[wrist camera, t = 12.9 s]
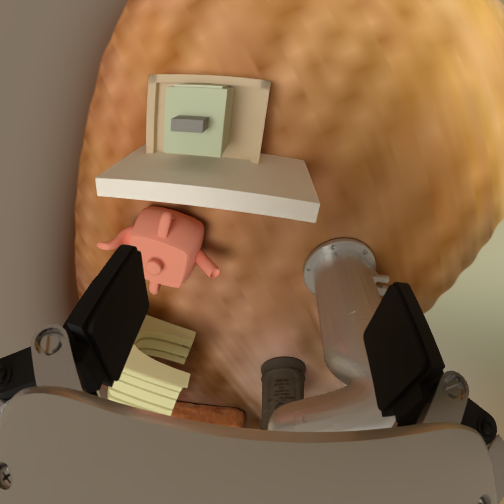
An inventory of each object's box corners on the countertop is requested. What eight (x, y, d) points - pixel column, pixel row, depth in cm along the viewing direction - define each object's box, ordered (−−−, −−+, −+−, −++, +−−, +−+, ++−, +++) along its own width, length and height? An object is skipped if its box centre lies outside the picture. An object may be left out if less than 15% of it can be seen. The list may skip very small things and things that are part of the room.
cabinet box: (235, 85, 28) (223, 87, 21) (228, 144, 32) (216, 164, 25) (184, 83, 28) (157, 85, 21) (180, 140, 32) (155, 159, 25)
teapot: (198, 182, 39) (177, 215, 31) (228, 248, 45) (219, 291, 37) (123, 212, 43) (93, 247, 34) (156, 268, 49) (136, 308, 41)
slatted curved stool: (129, 280, 51) (92, 353, 36) (206, 307, 54) (187, 388, 39) (124, 354, 68) (104, 409, 53) (179, 374, 70) (165, 431, 56)
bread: (165, 396, 81) (155, 437, 68) (245, 406, 80) (241, 450, 67) (174, 412, 89) (166, 448, 76) (245, 420, 88) (242, 459, 75)
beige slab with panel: (317, 89, 31) (345, 96, 19) (301, 173, 37) (315, 222, 26) (150, 74, 30) (92, 80, 19) (147, 156, 37) (97, 195, 25)
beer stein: (253, 359, 63) (249, 439, 47) (298, 350, 60) (302, 435, 44) (274, 384, 71) (273, 451, 56) (312, 377, 69) (316, 447, 53)
